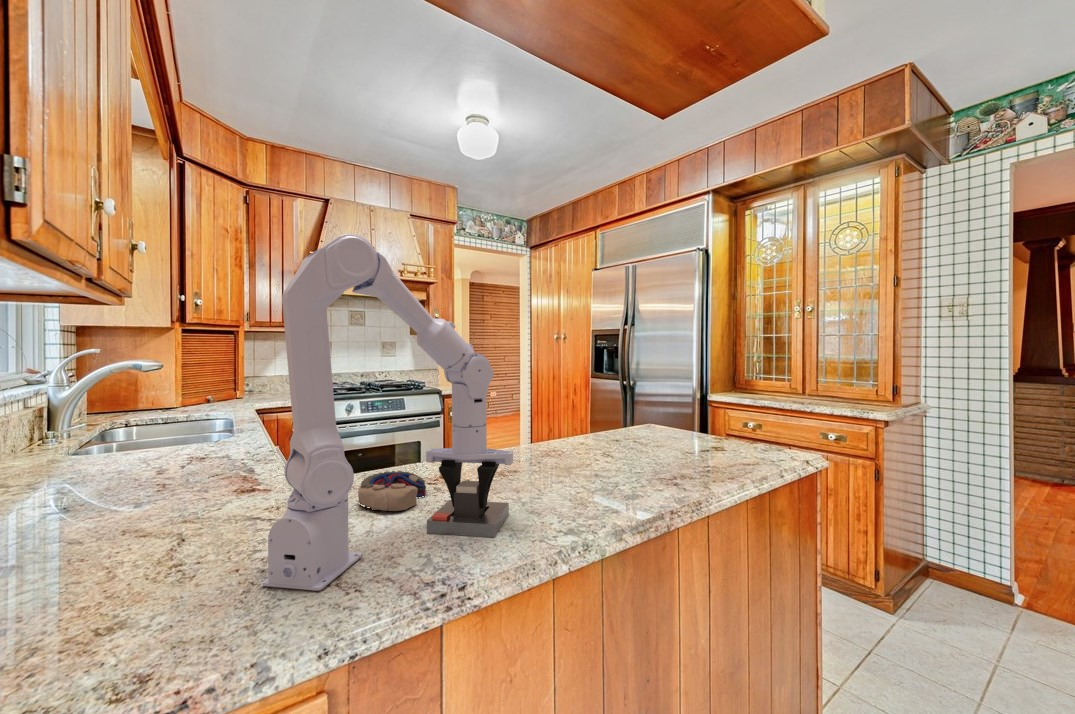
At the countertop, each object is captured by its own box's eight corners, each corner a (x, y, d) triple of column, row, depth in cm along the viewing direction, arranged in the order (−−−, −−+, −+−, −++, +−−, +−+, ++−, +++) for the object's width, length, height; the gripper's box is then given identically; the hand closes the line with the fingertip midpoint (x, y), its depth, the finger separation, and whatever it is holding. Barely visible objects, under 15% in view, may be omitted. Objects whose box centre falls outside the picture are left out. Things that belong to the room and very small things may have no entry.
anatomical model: (430, 488, 95) (430, 466, 95) (414, 515, 79) (414, 489, 79) (373, 489, 94) (372, 467, 94) (344, 517, 78) (344, 490, 78)
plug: (477, 524, 72) (477, 488, 72) (454, 523, 73) (453, 486, 73) (484, 516, 76) (484, 480, 76) (462, 514, 77) (461, 480, 77)
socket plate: (494, 537, 69) (494, 520, 69) (426, 533, 70) (426, 516, 70) (508, 514, 78) (508, 499, 78) (449, 510, 80) (449, 496, 80)
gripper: (516, 421, 77) (517, 500, 77) (437, 420, 79) (437, 496, 79) (507, 428, 70) (508, 514, 70) (420, 426, 72) (421, 509, 73)
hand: (469, 505), depth 74 cm, fingers closed on plug, 4 cm apart
